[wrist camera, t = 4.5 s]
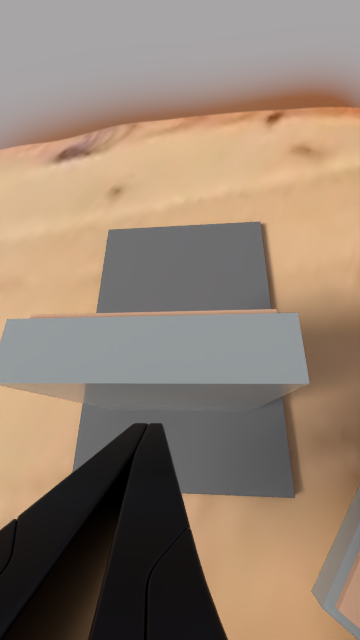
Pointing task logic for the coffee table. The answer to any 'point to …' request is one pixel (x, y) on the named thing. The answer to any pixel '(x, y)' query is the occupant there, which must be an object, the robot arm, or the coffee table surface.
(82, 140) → the coffee table surface
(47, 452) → the coffee table surface
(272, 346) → the tile
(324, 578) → the tile
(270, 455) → the mat
